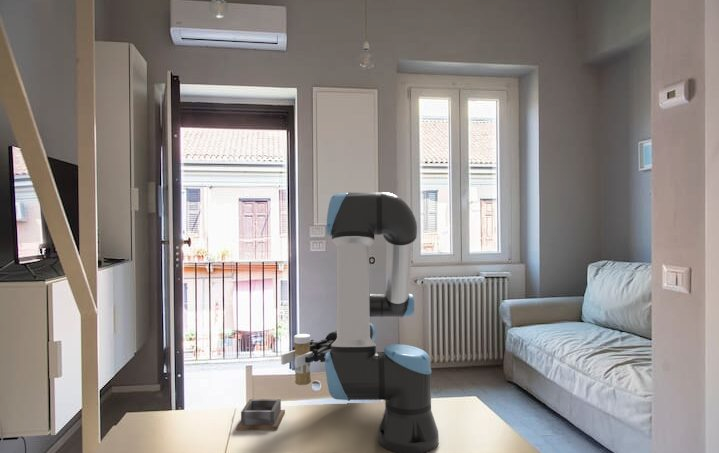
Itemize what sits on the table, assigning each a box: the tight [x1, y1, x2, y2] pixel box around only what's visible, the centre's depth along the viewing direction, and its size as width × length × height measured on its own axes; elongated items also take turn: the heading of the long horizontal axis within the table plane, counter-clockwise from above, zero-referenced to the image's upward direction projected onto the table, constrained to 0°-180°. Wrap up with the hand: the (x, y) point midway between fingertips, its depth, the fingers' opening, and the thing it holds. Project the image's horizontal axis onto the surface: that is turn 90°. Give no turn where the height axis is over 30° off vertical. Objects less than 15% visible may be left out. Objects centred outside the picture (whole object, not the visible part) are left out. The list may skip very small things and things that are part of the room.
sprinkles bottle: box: [293, 333, 312, 386], centre depth 125 cm, size 5×5×13 cm
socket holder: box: [235, 398, 286, 431], centre depth 125 cm, size 11×11×4 cm
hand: (289, 361), depth 121 cm, fingers closed on sprinkles bottle, 4 cm apart
